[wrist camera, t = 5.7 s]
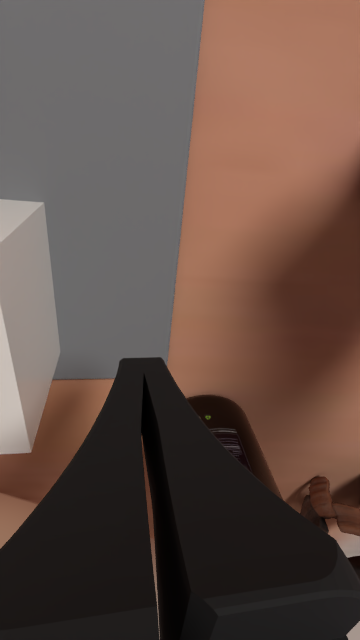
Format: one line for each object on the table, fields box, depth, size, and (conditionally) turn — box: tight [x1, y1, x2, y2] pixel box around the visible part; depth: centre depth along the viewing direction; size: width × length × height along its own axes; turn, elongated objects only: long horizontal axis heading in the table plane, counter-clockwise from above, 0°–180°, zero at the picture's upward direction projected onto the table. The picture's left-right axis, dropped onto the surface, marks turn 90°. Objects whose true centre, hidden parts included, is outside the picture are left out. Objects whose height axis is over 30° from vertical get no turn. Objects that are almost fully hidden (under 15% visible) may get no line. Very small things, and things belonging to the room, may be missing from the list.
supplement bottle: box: [187, 395, 283, 500], centre depth 18 cm, size 7×7×12 cm
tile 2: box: [0, 199, 60, 454], centre depth 13 cm, size 2×8×6 cm, turn 174°
